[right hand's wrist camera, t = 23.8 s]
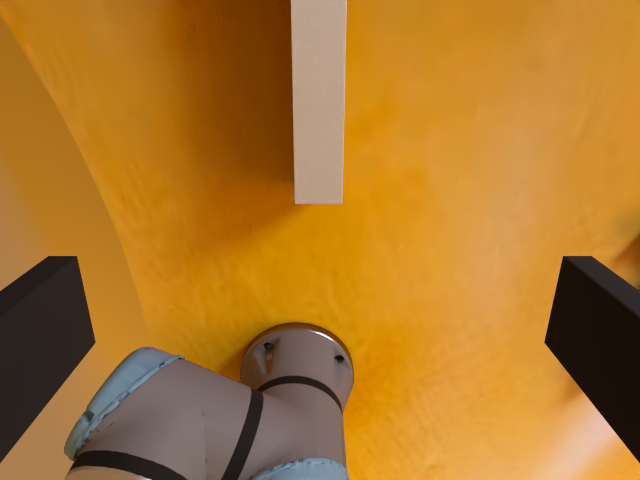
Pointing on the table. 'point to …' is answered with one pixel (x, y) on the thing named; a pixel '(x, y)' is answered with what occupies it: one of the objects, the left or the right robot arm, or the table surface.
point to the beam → (318, 99)
